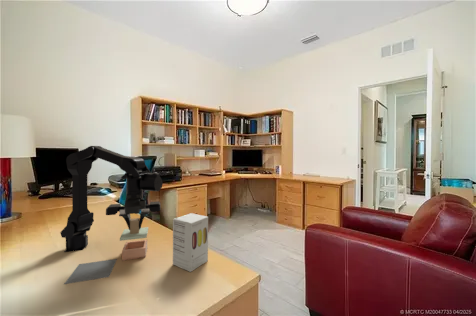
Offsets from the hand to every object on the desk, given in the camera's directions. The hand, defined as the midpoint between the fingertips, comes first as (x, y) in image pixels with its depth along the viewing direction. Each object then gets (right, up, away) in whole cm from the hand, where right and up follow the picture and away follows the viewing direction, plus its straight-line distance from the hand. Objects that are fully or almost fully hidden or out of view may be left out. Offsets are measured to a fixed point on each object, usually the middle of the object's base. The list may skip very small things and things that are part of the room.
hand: (135, 229), depth 83 cm
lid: (0, -2, 0) cm, 2 cm away
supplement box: (+23, -11, -5) cm, 26 cm away
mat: (-9, -10, -11) cm, 18 cm away
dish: (0, -10, 0) cm, 10 cm away
